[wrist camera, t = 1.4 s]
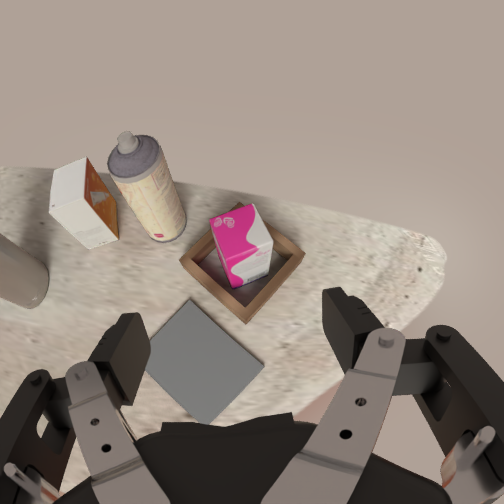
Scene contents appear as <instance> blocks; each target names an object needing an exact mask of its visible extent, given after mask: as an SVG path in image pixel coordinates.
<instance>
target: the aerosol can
mask: <svg viewBox="0 0 504 504" xmlns="http://www.w3.org/2000/svg"><path fill="white" fill-rule="evenodd" d="M117 140H118V145H117V146H116V147H115V148H114V149H113V150H112V152H111V154H110V156H109V158H108V163H107V165H108V169H109V171H110V176H111V177H112V179H113V180H114V182H115V184H116V185H117V187H118V189H119V190H120V192H121V193H122V195H123V197H124V198H125V200H126V201H127V203H128V204H129V206H130V208H131V209H132V211H133V212H134V214H135V215H136V217H137V218H138V220H139V221H140V223H141V224H142V226H143V227H144V229H145V230H146V232H147V233H148V235H149V236H150V237H151V238H152V239H153V240H155V241H157V242H161V243H165V242H171V241H173V240H175V239H177V238H178V237H179V236H180V235H181V234H182V233H183V231H184V230H185V227H186V216H185V213H184V211H183V208H182V205H181V202H180V200H179V197H178V194H177V191H176V189H175V186H174V183H173V180H172V177H171V174H170V172H169V169H168V166H167V163H166V160H165V157H164V154H163V151H162V149H161V146H160V145H159V143H158V141H157V140H156V139H155V138H153V137H151V136H148V135H137V136H136V135H135V136H133V135H132V133H131V132H130V131H126V132H123V133H121V134H120V135H119V136H118V138H117Z"/></svg>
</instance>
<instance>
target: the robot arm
mask: <svg viewBox="0 0 504 504" xmlns="http://www.w3.org/2000/svg"><path fill="white" fill-rule="evenodd" d="M48 283H49V277H48V271H47V268H46V267H45V265H44V264H43V263H42V262H41V261H39V260H37V259H36V258H34V257H33V256H31V255H30V254H29V253H27V252H26V251H24V250H23V249H21V248H20V247H18V246H17V245H16V244H14V243H13V242H11V241H10V240H9V239H7V238H6V237H5V236H3V235H2V234H1V233H0V297H1V298H3V299H5V300H7V301H10V302H12V303H15V304H17V305H20V306H22V307H25V308H27V309H31V308H34V307H36V306H38V305H39V304H40V303H41V301H42V300H43V298H44V297H45V294H46V292H47V289H48ZM322 323H323V329H324V333H325V335H326V337H327V339H328V341H329V343H330V345H331V347H332V349H333V351H334V353H335V355H336V357H337V360H338V362H339V364H340V366H341V368H342V370H343V372H344V374H345V376H344V378H343V380H342V382H341V384H340V386H339V388H338V390H337V392H336V394H335V396H334V397H333V399H332V401H331V403H330V405H329V407H328V409H327V410H326V412H325V414H324V415H323V417H322V419H321V421H320V422H319V424H318V425H317V424H314V423H309V422H302V421H294V420H293V416H292V412H290V413H284V414H277V415H270V416H263V417H257V418H254V419H251V420H248V421H245V422H241V423H238V424H234V425H231V426H227V427H221V426H214V425H207V424H201V423H195V422H162V427H161V431H159V432H155V433H152V434H149V435H146V436H144V437H142V438H140V439H137V438H136V436H135V434H134V433H133V431H132V429H131V428H130V426H129V424H128V422H127V421H126V419H125V417H124V415H123V413H122V412H121V410H120V408H121V406H122V405H127V406H132V405H133V402H134V399H135V396H136V393H137V391H138V388H139V385H140V382H141V379H142V376H143V373H144V371H145V368H146V365H147V362H148V360H149V357H150V354H151V345H150V341H149V338H148V335H147V332H146V329H145V326H144V323H143V320H142V318H141V315H140V314H139V313H138V312H136V313H124V314H122V315H121V316H120V318H119V319H118V321H117V323H116V324H115V325H113V326H112V327H110V328H109V329H108V330H107V331H106V332H105V333H104V335H103V336H102V339H101V340H100V341H99V343H98V345H97V346H96V348H95V349H94V351H93V352H92V354H91V356H90V357H89V359H88V361H84V362H79V363H77V364H75V365H73V366H72V367H70V368H69V369H68V371H67V372H66V375H65V377H63V378H57V379H52V377H51V376H50V374H49V372H48V371H47V370H43V369H40V370H36V371H34V372H32V373H30V374H29V375H28V376H27V377H26V378H25V379H24V381H23V383H22V384H21V386H20V387H19V389H18V390H17V392H16V393H15V395H14V397H13V398H12V400H11V401H10V403H9V405H8V406H7V408H6V410H5V412H4V413H3V415H2V417H1V418H0V504H492V503H493V502H494V501H495V500H497V499H498V498H499V497H500V496H502V495H503V494H504V382H503V381H502V380H501V378H500V377H499V376H498V375H497V374H496V373H495V371H494V370H493V369H492V368H491V367H490V366H489V365H488V364H487V362H486V361H485V360H484V359H483V358H482V357H481V356H480V355H479V354H478V352H476V350H475V349H474V348H473V347H472V346H471V345H470V344H469V343H468V342H467V341H466V340H465V338H464V337H463V336H462V335H461V334H460V333H459V332H458V331H457V330H456V329H454V328H452V327H450V326H446V325H436V326H432V327H431V328H429V329H428V330H427V332H426V336H425V338H423V339H405V336H404V335H403V334H402V333H401V332H400V331H398V330H395V329H392V328H385V327H384V326H383V325H382V323H381V322H380V321H379V320H378V319H377V317H376V316H375V315H374V314H373V313H372V312H371V310H370V309H369V308H367V305H366V304H365V303H364V302H363V301H362V300H361V299H359V298H357V297H355V296H347V295H346V293H345V292H344V291H343V289H342V288H341V287H335V288H329V289H324V290H323V292H322ZM447 382H448V383H447ZM449 385H450V386H449ZM410 394H412V395H413V397H414V398H415V400H416V402H417V404H418V406H419V407H420V409H421V411H422V413H423V415H424V417H425V418H426V420H427V422H428V424H429V425H430V428H431V430H432V432H433V433H434V435H435V437H436V439H437V441H438V443H439V445H440V447H441V449H442V451H443V453H444V455H445V457H446V458H445V459H444V461H443V462H442V465H441V469H440V472H441V477H442V486H441V485H439V484H438V483H436V482H434V481H432V480H430V479H427V478H425V477H423V476H420V475H418V474H416V473H413V472H411V471H409V470H407V469H404V468H402V467H400V466H398V465H396V464H394V463H392V462H390V461H388V460H386V459H384V458H382V457H380V456H377V455H375V454H374V453H372V451H373V449H374V446H375V444H376V441H377V438H378V436H379V433H380V430H381V428H382V425H383V422H384V419H385V416H386V413H387V410H388V407H389V404H390V401H391V398H392V396H396V395H410ZM42 414H43V415H44V416H45V418H46V419H47V420H48V421H49V422H48V424H47V426H46V428H45V431H44V433H43V435H42V438H40V437H39V435H38V433H37V428H36V427H37V423H38V421H39V419H40V417H41V415H42ZM76 437H77V440H78V443H79V446H80V448H81V451H82V454H83V457H84V459H85V462H86V464H87V467H88V469H89V472H90V474H91V476H89V477H88V478H87V479H85V480H84V481H83V482H81V483H80V484H78V485H77V486H76V487H74V488H73V489H71V490H70V491H69V492H67V493H66V494H64V495H63V496H61V497H60V495H59V490H60V486H61V483H62V479H63V476H64V473H65V469H66V466H67V463H68V460H69V457H70V454H71V451H72V448H73V445H74V442H75V439H76Z"/></svg>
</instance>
